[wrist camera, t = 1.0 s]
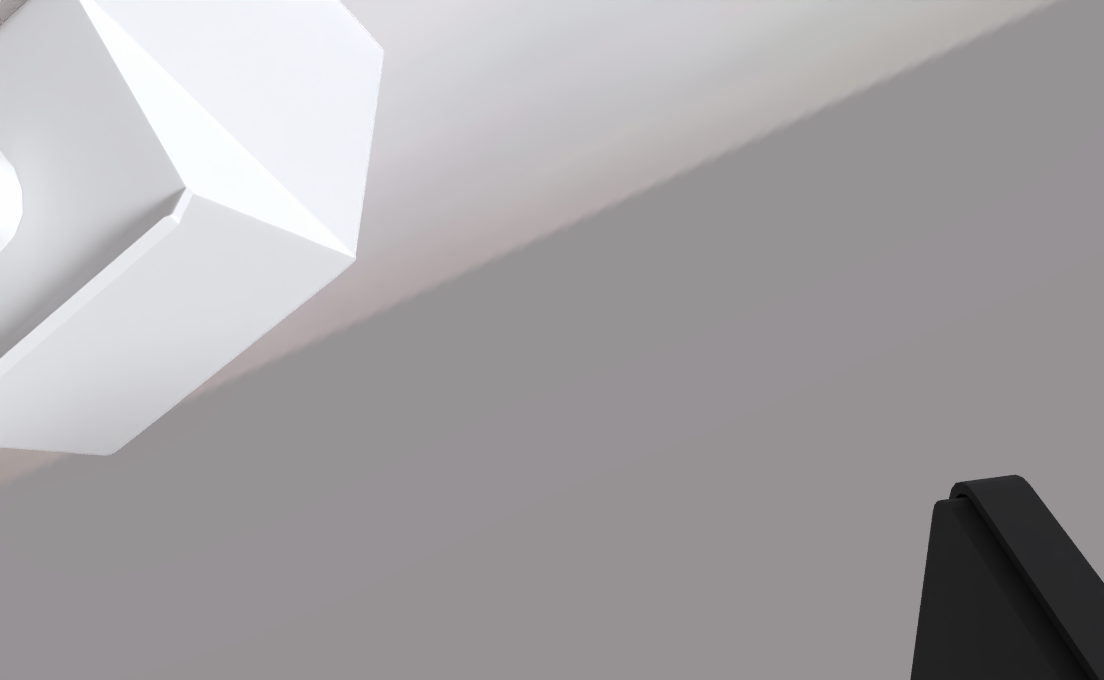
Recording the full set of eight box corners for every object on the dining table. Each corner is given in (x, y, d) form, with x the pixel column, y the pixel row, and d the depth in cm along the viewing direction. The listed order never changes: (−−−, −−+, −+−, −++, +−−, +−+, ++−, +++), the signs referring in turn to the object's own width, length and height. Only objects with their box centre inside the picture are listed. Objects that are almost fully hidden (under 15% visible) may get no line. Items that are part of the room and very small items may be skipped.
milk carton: (387, 49, 34) (344, 370, 17) (228, 185, 35) (53, 592, 19) (217, -142, 30) (-34, 29, 14) (51, 18, 32) (-341, 335, 16)
